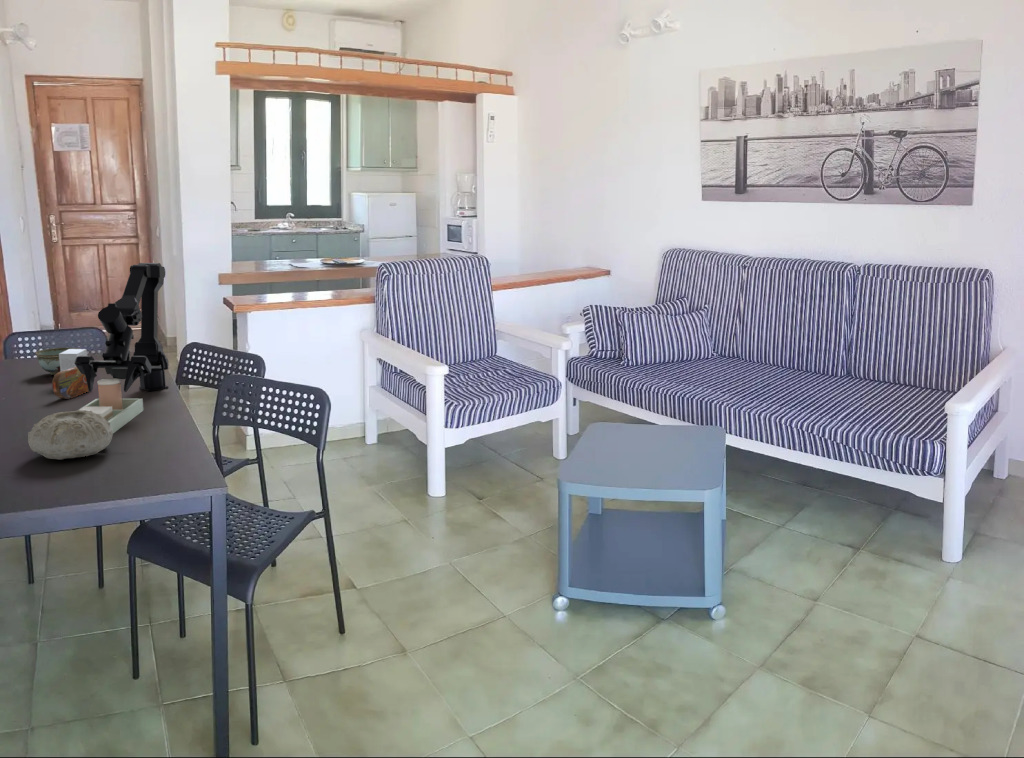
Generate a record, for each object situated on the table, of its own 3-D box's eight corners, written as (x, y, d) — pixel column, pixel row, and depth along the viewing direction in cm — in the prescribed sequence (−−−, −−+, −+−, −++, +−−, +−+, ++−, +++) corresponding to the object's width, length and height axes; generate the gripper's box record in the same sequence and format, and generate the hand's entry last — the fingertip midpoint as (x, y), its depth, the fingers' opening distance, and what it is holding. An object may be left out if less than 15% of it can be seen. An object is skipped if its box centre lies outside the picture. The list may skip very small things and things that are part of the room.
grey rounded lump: (116, 460, 196) (112, 419, 194) (29, 471, 188) (24, 428, 186) (112, 440, 212) (108, 401, 210) (31, 449, 204) (26, 409, 201)
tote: (97, 412, 236) (96, 398, 235) (143, 412, 237) (142, 398, 236) (59, 438, 212) (57, 422, 212) (110, 437, 214) (109, 422, 213)
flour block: (86, 424, 222) (84, 406, 221) (114, 424, 223) (112, 406, 222) (74, 432, 215) (73, 413, 214) (103, 432, 216) (101, 413, 215)
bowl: (70, 379, 274) (67, 355, 272) (29, 378, 274) (26, 354, 273) (91, 370, 288) (89, 347, 286) (52, 369, 288) (49, 346, 286)
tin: (61, 401, 247) (58, 374, 245) (51, 401, 248) (48, 373, 246) (95, 390, 261) (92, 363, 259) (86, 389, 262) (83, 363, 260)
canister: (109, 412, 234) (105, 377, 231) (127, 414, 233) (124, 378, 231) (96, 418, 228) (92, 382, 226) (115, 419, 227) (111, 383, 225)
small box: (72, 380, 273) (68, 348, 271) (90, 380, 274) (86, 348, 271) (61, 386, 265) (57, 353, 263) (79, 386, 266) (76, 353, 263)
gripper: (161, 359, 243) (151, 405, 235) (94, 359, 242) (82, 406, 233) (150, 337, 234) (139, 385, 226) (80, 337, 232) (67, 385, 224)
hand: (107, 391), depth 227 cm, fingers open, 9 cm apart
